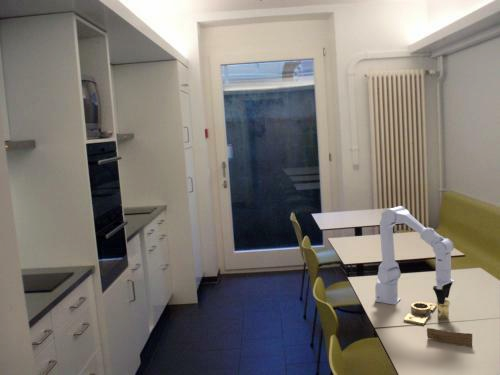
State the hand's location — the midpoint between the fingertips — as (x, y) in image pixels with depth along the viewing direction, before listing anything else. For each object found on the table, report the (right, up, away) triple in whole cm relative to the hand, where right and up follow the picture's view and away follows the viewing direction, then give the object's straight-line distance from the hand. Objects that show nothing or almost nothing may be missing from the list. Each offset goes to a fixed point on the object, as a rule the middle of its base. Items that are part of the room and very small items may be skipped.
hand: (443, 300), depth 194 cm
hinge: (-7, -7, +6) cm, 12 cm away
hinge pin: (0, -7, +1) cm, 8 cm away
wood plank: (-6, -11, -20) cm, 24 cm away
